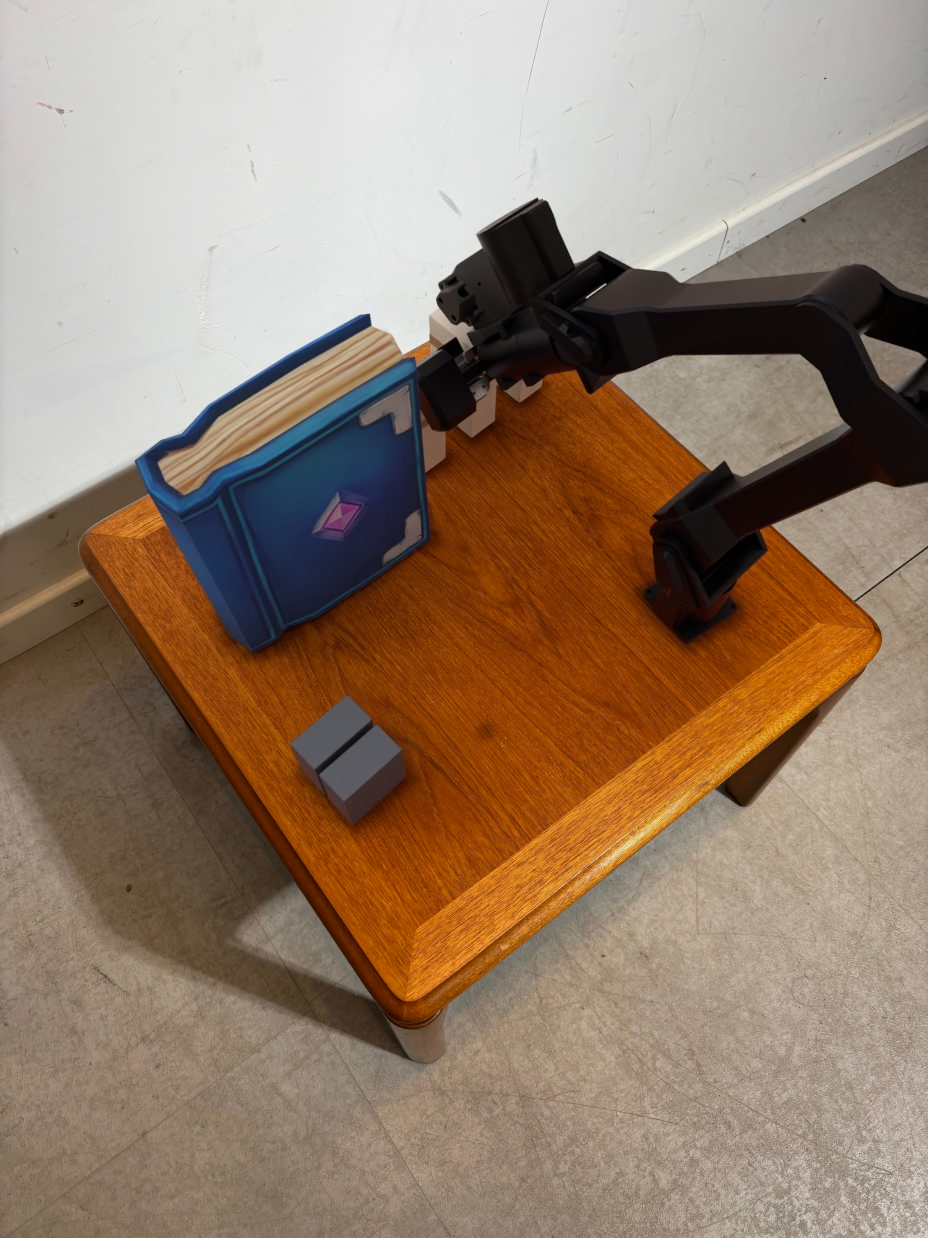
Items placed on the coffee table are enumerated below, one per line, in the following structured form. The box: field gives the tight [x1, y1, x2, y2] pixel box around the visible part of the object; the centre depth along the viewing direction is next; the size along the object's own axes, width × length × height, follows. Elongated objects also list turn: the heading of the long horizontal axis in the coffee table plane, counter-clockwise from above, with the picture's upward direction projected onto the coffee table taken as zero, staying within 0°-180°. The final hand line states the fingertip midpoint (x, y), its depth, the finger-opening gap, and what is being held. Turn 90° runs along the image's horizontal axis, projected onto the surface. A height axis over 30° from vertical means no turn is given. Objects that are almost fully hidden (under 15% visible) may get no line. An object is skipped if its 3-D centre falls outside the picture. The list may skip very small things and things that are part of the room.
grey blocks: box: [289, 694, 407, 826], centre depth 73 cm, size 6×6×7 cm
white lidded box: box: [428, 307, 497, 438], centre depth 89 cm, size 6×3×12 cm, turn 43°
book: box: [134, 313, 432, 654], centre depth 74 cm, size 22×7×25 cm, turn 129°
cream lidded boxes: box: [404, 356, 544, 474], centre depth 90 cm, size 6×17×10 cm, turn 133°
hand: (454, 360), depth 89 cm, fingers open, 3 cm apart
